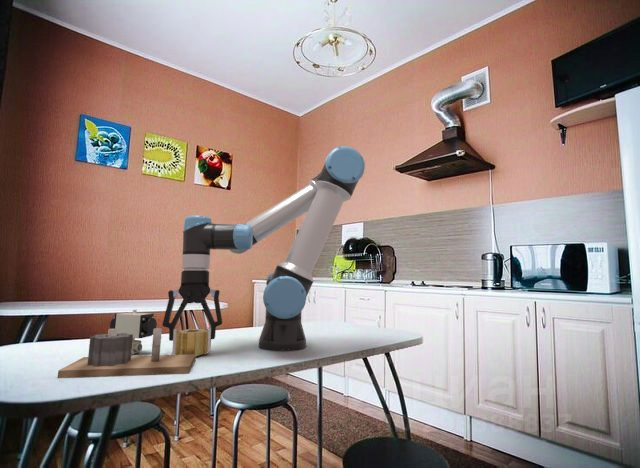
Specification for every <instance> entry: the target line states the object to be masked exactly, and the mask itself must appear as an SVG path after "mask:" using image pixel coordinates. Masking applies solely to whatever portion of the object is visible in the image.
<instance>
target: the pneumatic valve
mask: <svg viewBox="0 0 640 468" xmlns="http://www.w3.org/2000/svg"><path fill="white" fill-rule="evenodd" d="M154 315H155V314H154V313H147V312H138V311H137V309H133V310H132V312H119V313H118V312H117V313H115V314H114V317H112V318H111V319H110V321H109V322H110V323H109V329H117V333H127V334H133V340H132V352H131V356H134V355H135V354H140V353H141V352H142V349H143V344H142V340H140V339H144V338H148V337H153V330H154V329H155V328H157V326H158V324H157V320H156V318H155V317H154Z"/></svg>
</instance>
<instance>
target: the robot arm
mask: <svg viewBox="0 0 640 468" xmlns="http://www.w3.org/2000/svg"><path fill="white" fill-rule="evenodd" d="M365 169H366V163H365V160H364V157H363V155H362V154H361V153H360V152H359V151H358V150H357V149H355V148H353V147H351V146H349V145H347V146H345V145H342V146H337V147H335V148H333V149H332V150H331V151H330V152H329V153H328V154H327V155H326V157H325V162H324V164H323V167H322V168H321V171H320V173H318V174H317V175H316V176H314V177H313V178H311V179H310V180H309V182H308V184H307V185H305V187H302V188H301V189H299V190H298V191H296V192H294V193H293V194H291V195H289V196H287V197H285V199H283V200H281V201H280V202H278V203H277V204H274V205H272V206H270V207H269V208H268V209H266V210H265V211H263V212H261V213H260V214H258V215H256V216H255V217H253V218H251V219H250V220H248V221H246V222H245V223H244V224H243V223H213V222H212V218H211V217H209V216H205V215H198V214H197V215H189V216H186V217H185V219H184V223H183V231H182V234H183V235H182V237H183V238H182V255H181V269H183V270H181V272H180V273H181V275H180V276H181V277H180V287H179V288H178V289H174V290H173V289H171V290H169V291H168V292H167V295H168V301H167V305H166V309H165V313H164V317H163V320H162V326H163V327H164V328H167V329H169V332H168V340H169V341H170V342H172V352H171V353H172V354H171V355H175V350H176V332H178V331H179V328H178V327H176V326H177V324H178V323H179V320H180V318H181V316H182V315H183V313H184V310H185V309H186V307H187V305H188V304H200V305H201V307H202V309H203V311H204V314H205V315H206V318H207V320H208V323H209V325H210V326H208V328H207V330H208V345H207V353H211V350H212V348H211V347H212V340H215V339H216V329H217V327H219V326H222V324H223V319H222V318H223V317H222V310H221V305H220V294H221V293H220V292H221V291H220V290H219V289H211V287H210V272H209V269H210V266H211V264H210V263H211V262H210V261H211V250H223V251H225V250H226V251H227V250H228V251H230V252H231V253H233V254H239V255H241V254H243V253H245V252H247V251H248V250H250V249H252V248H253V246H255V245H256V244H257V243H259V242H261V241H262V240H263V239H265V238H267V237H269V236H271V235H272V234H273V233H275V232H276V231H278V230H280V229H283V227H285V226H287V225H288V224H289V223H291V222H293V221H295V220H296V219H297V218H300V217H301V216H303V215H305V213H306V215H305V217H304V219H303V222H302V223H301V226H300V228H299V229H298V232H297V234H296V236H295V238H294V241H293V243H292V245H291V248H290V249H289V252H288V253H287V255H286V258H285V260H284V261H283V262H280V263H278V264H277V265H276V267H275V269H274V271H273V272H272V273H270V274H268V275H267V278H266V279H267V280H266V281H265V282H266V286H265V288H264V291H263V295H262V298H263V304H264V308H265V321H264V325H263V328H262V330H261V333H260V335H259V338H258V347H259V348H260V349H263V350H266V351H267V350H268V351H280V352H281V351H298V350H302V349H303V350H304V349H305V348H306V347H307V338H306V334H305V331H304V328H303V324H302V311H303V309H304V308H305V306H306V301H307V297H308V295H309V293H310V290H311V287H312V286H313V284H314V277H313V276H312V273H313V271H314V269H315V267H316V264H317V262H318V259H319V257H320V255H321V253H322V251H323V249H324V246H325V244H326V241H328V240H327V239H328V238H329V235H330V233H331V231H332V228H333V226H334V224H335V222H336V221H337V217H338V215H339V212H340V211H341V208H342V206H343V204H344V203H345V202H347V201H350V200H351V198H352V196H353V193H354V191H355V190H356V187H357V186H358V183H359V181H360V180H361V178H362V177H363V176H364V173H365ZM209 294H211V297H212V298H213V302H214V309H215V315H216V321H215V319H214V317H213V314H212V312H211V310H210V308H209V305H208V303H207V300H206V298H207V297H208V295H209ZM178 295H180V297H182V302H181V303H180V305H179V307H178V309H177V311H176V313H175V315H174V317H173V318H172V321H171V322H170V319H171V316H172V312H173V308H174V305H175V300H176V298H177V297H178Z"/></svg>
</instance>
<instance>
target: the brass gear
mask: <svg viewBox="0 0 640 468" xmlns="http://www.w3.org/2000/svg"><path fill="white" fill-rule="evenodd" d="M207 345H208V329H204V328H203V329H202V328H195V329H194V328H191V329H190V328H188V329H181V330H180V329H178V332H176V350H175V354H174V355H193V354H196V356H195V357H197V356H200V355H207V354H208V352H207Z"/></svg>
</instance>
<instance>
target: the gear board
mask: <svg viewBox="0 0 640 468" xmlns="http://www.w3.org/2000/svg"><path fill="white" fill-rule="evenodd" d="M162 331H163V329H162V327H161V328H159V327H156V328H155V329H154V330H153V333H152V343H151V355H131V352H132V340H133V334H127V333H117V329H110V328H108V330H107V333H103V334H94V336H90V337H89V344H88V354H87V355H88V356H84V357H82V358H80V359H77V360H76V361H74V362H72V363H70V364H68V365H66V366H65V367H62V368H60V369H59V370H58V372H57V379H64V378H65V379H70V378H93V377H94V378H95V377H120V376H121V377H124V376H151V375H153V376H154V375H179V374H183V375H184V374H190V372H191V370H192V368H193V366H194V364H195V363H196V362H195V361H196V357H197V356H196V354H193V355H175V354H165V355H164V354H162V355H161V343H162Z"/></svg>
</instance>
